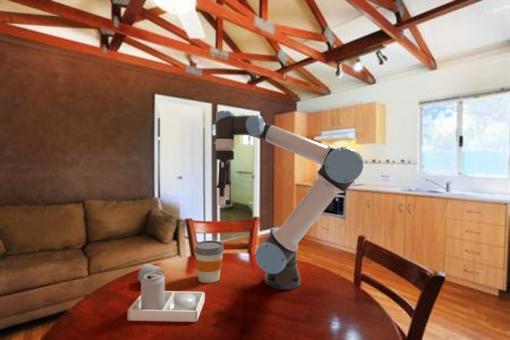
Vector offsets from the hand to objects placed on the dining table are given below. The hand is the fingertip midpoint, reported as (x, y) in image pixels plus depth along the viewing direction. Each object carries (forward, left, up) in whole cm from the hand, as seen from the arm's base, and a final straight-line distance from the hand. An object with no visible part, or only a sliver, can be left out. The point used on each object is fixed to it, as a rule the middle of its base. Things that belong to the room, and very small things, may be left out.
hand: (224, 202), depth 112 cm
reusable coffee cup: (+7, -7, -35) cm, 36 cm away
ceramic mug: (+30, -2, -35) cm, 46 cm away
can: (+21, +20, -34) cm, 45 cm away
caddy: (+16, +20, -35) cm, 43 cm away
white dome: (+11, +20, -34) cm, 41 cm away
